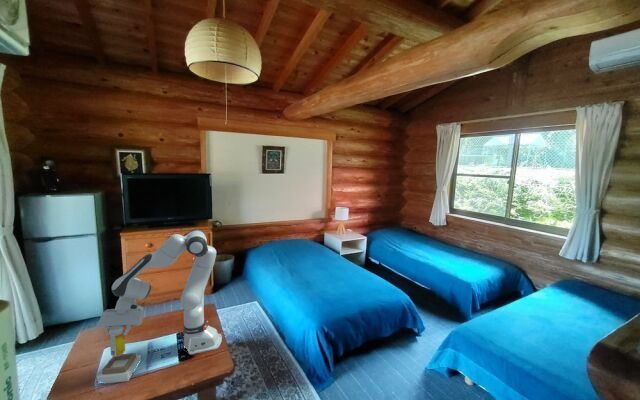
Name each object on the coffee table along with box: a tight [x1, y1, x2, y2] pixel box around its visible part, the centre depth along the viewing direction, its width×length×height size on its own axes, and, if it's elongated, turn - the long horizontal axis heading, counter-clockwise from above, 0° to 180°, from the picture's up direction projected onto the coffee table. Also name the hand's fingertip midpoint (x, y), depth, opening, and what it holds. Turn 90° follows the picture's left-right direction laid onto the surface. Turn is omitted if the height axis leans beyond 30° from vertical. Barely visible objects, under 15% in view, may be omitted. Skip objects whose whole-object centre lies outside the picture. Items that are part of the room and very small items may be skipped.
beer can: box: [109, 325, 126, 357], centre depth 143 cm, size 6×6×15 cm
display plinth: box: [96, 352, 142, 384], centre depth 145 cm, size 14×14×6 cm
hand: (116, 335), depth 142 cm, fingers closed on beer can, 6 cm apart
